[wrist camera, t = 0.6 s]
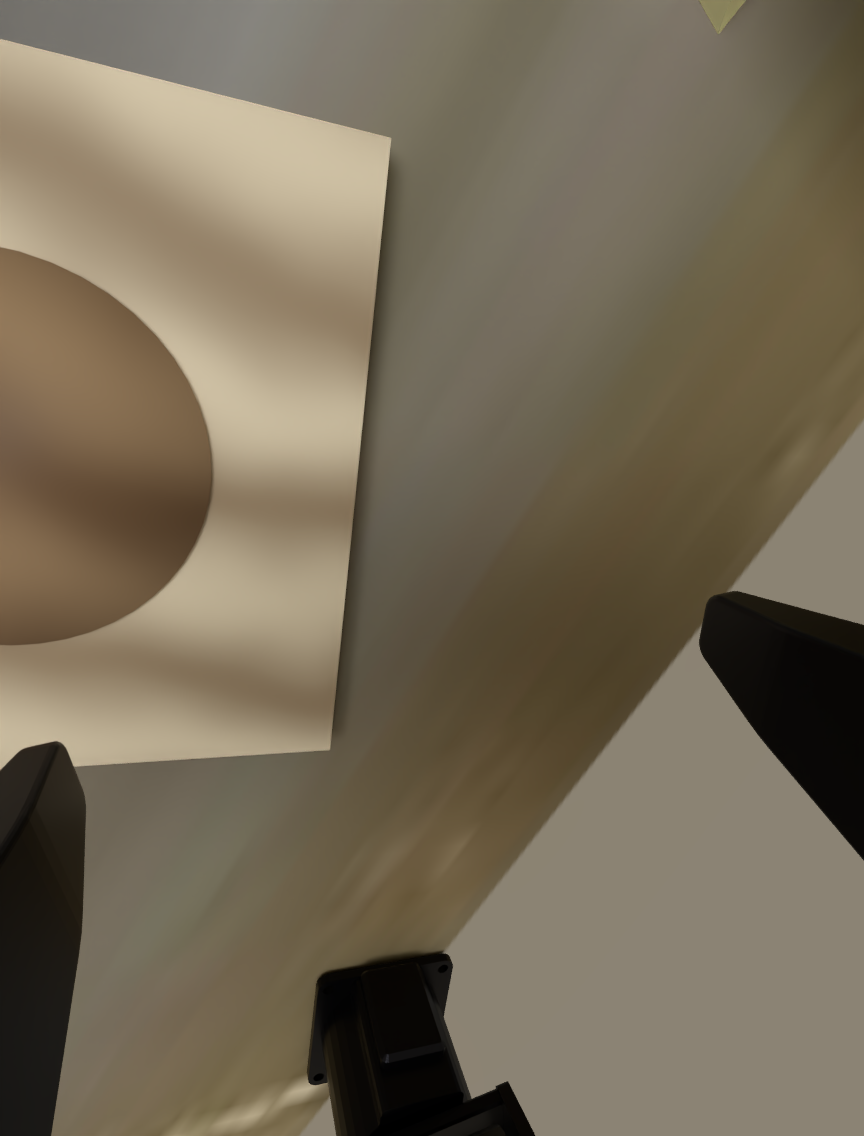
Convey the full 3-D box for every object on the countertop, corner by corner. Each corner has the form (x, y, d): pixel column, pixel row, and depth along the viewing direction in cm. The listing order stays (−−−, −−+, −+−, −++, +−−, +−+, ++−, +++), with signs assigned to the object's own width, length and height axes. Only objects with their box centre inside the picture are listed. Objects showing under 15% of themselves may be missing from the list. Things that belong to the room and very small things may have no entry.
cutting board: (323, 728, 26) (330, 752, 24) (-360, 764, 19) (-409, 801, 18) (378, 150, 20) (392, 136, 18) (-584, -86, 13) (-686, -139, 12)
